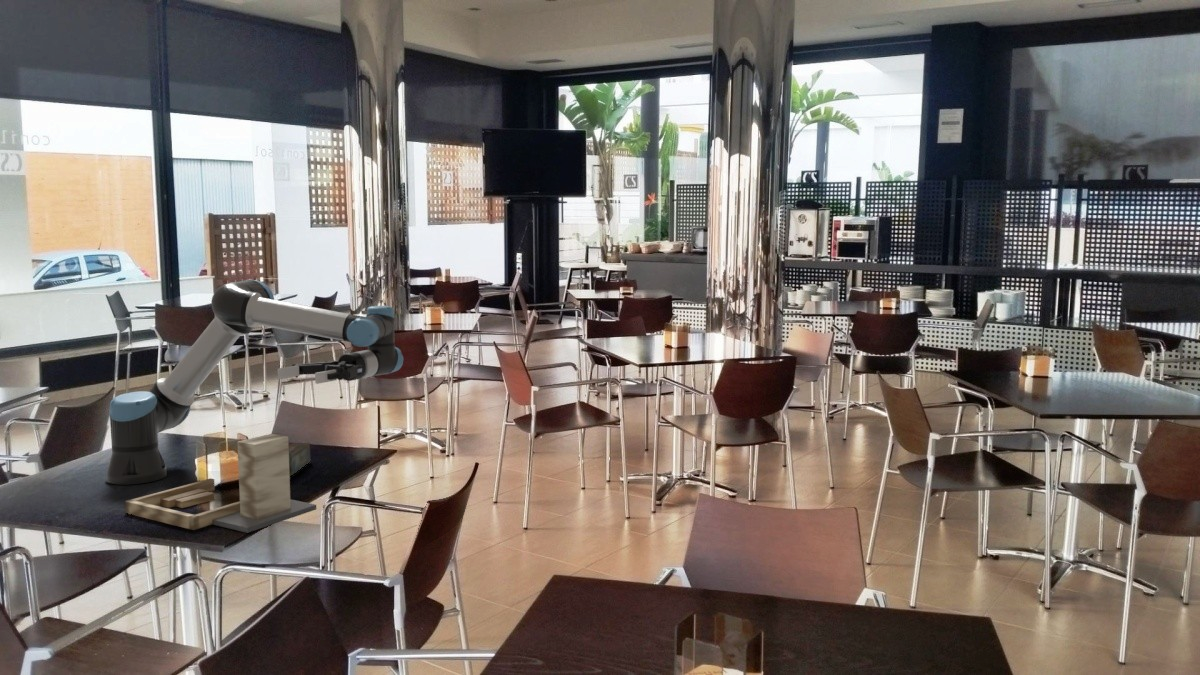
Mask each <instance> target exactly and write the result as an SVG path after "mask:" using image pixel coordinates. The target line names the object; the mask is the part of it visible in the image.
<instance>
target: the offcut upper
mask: <svg viewBox="0 0 1200 675" xmlns="http://www.w3.org/2000/svg"><path fill="white" fill-rule="evenodd" d="M215 498H216V497H215V493H213V492H212V491H210V492H204V493H200V494H196V495H192V496H188V497H184V498H180V499H176V500H175V506H174V507H178V508H180V509H184V508H189V507H192V506H195V505H200V504H204V503H207V502H211V501H214V500H215Z"/></svg>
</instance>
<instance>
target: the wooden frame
mask: <svg viewBox="0 0 1200 675" xmlns="http://www.w3.org/2000/svg"><path fill="white" fill-rule="evenodd" d="M215 486H216V485H215V479H214V478H207V479H204V480H200V481H196V482H191V483H188V484H184V485H180V486H177V487H174V488H170V489H165V490H163V491H158V492H155V493H151V494H147V495H143V496H139V497H136V498H132V499H128V500H124V508H125V514H127V513H128V515H131V514H132V515H133V516H136V517H139V518H143V519H144V518H145V519H147V520H152V521H154V522H155V521H156V522H161V523H163V524H167V525H171V526H177V527H179V528H180V527H181V528H184V529H187V530H192V531H195V530H199V529H202V528H205V527H207V526H211V525H213V519H216V518H219V517H222V516H225V515H229V514H232V513H235V512H238V511H240V500H239V501H235V502H233V503H230V504H229V503H228V504H226V505H223V506H220V507H219V506H218V507H216V508H213V509H209V510H207V511H206V510H205V511H202V512H200V513H195V514H193V513H188V512H183V511H179V510H175V509H171V508H168V507H164V506H160V498H164V497H168V496H172V495H176V494H180V493H183V492H187V491H191V490H195V489H203V490H207V492H209V491H210V492H213V491H215V490H216V489H215Z"/></svg>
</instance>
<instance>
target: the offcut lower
mask: <svg viewBox="0 0 1200 675" xmlns="http://www.w3.org/2000/svg"><path fill="white" fill-rule="evenodd" d="M204 492H207V490H203V489H195V490H191V491H187V492H183V493H180V494H176V495H172V496H168V497H164V498H160V506H159V507H163V508H168V509H171V508H174V507H176V506H175V500H176V499H180V498H184V497H188V496H192V495H196V494H200V493H204Z"/></svg>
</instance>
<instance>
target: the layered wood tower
mask: <svg viewBox="0 0 1200 675" xmlns="http://www.w3.org/2000/svg"><path fill="white" fill-rule="evenodd" d="M288 443H289V436H287V435H279V434H275V433H269V434H265V435H260V436H256V437H252V438H249V439H244V440H243V439H242V440H239V441H237V462H238V466H237V468H238V486H239V501H240V515H241V516H246V517H250V518H254V519H260V518H263V517H266V516H269V515H272V514H275V513H278V512H281V511H284V510H288V509H291V503H290V499H291V485H290V484H291V481H290V480H291V477H290V475H289V446H288Z"/></svg>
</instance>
